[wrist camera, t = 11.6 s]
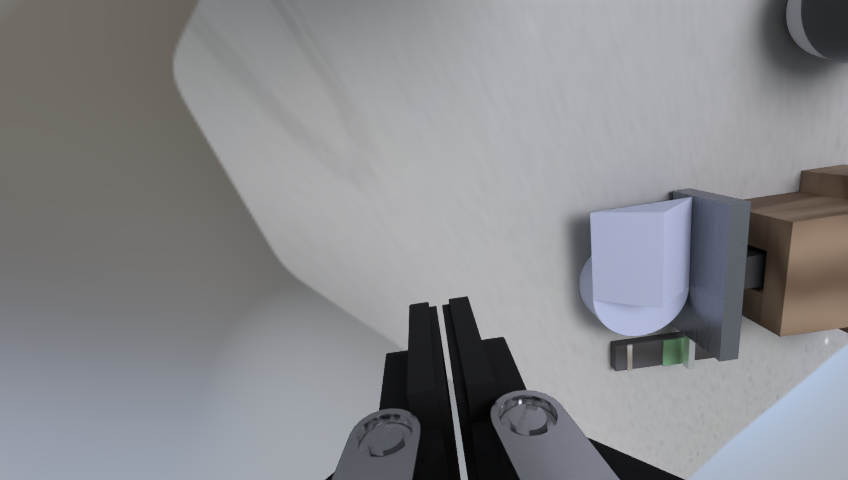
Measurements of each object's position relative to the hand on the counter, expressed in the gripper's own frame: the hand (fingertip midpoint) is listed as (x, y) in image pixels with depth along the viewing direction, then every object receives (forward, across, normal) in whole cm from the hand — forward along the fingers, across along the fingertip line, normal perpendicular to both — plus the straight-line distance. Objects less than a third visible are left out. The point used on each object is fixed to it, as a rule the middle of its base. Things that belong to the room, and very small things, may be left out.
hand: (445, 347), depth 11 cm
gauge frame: (+27, -29, +12) cm, 41 cm away
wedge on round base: (+27, -19, +10) cm, 35 cm away
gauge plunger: (+27, -29, +12) cm, 41 cm away
